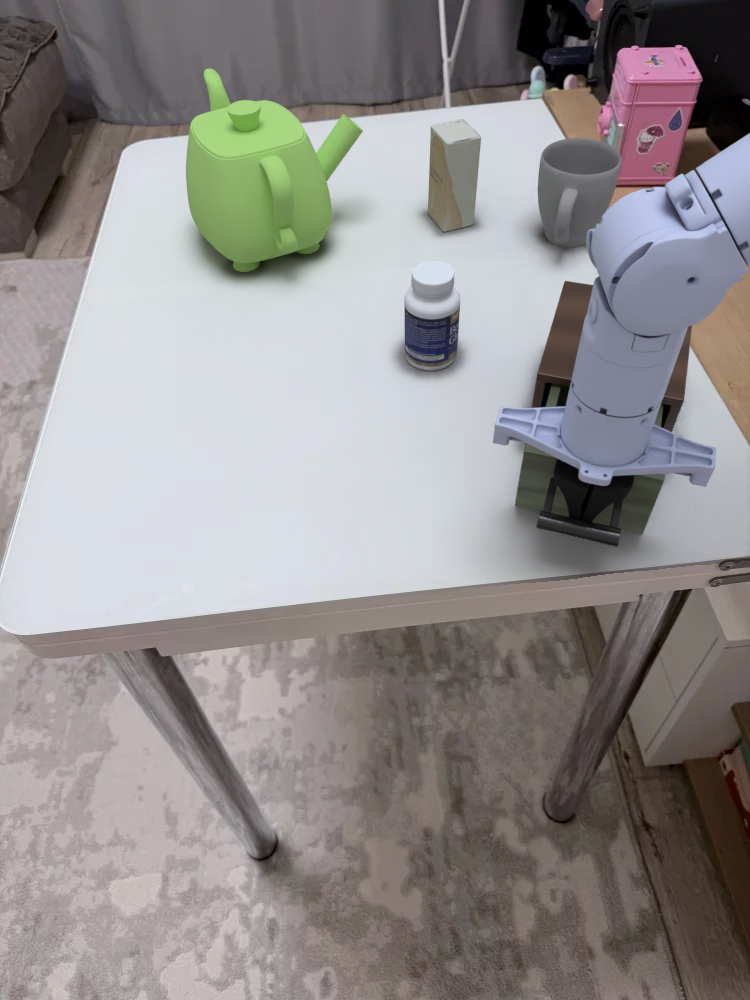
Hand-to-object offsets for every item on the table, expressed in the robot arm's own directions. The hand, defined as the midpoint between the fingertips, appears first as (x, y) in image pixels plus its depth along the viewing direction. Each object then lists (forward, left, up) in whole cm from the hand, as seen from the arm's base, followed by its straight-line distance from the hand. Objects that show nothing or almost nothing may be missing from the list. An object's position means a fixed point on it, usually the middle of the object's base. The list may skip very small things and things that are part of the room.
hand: (579, 518), depth 57 cm
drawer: (-3, -5, -3) cm, 7 cm away
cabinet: (-8, -15, -4) cm, 17 cm away
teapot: (+19, -54, -4) cm, 57 cm away
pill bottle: (+6, -26, -4) cm, 27 cm away
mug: (-14, -43, -4) cm, 45 cm away
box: (-2, -51, -4) cm, 51 cm away
